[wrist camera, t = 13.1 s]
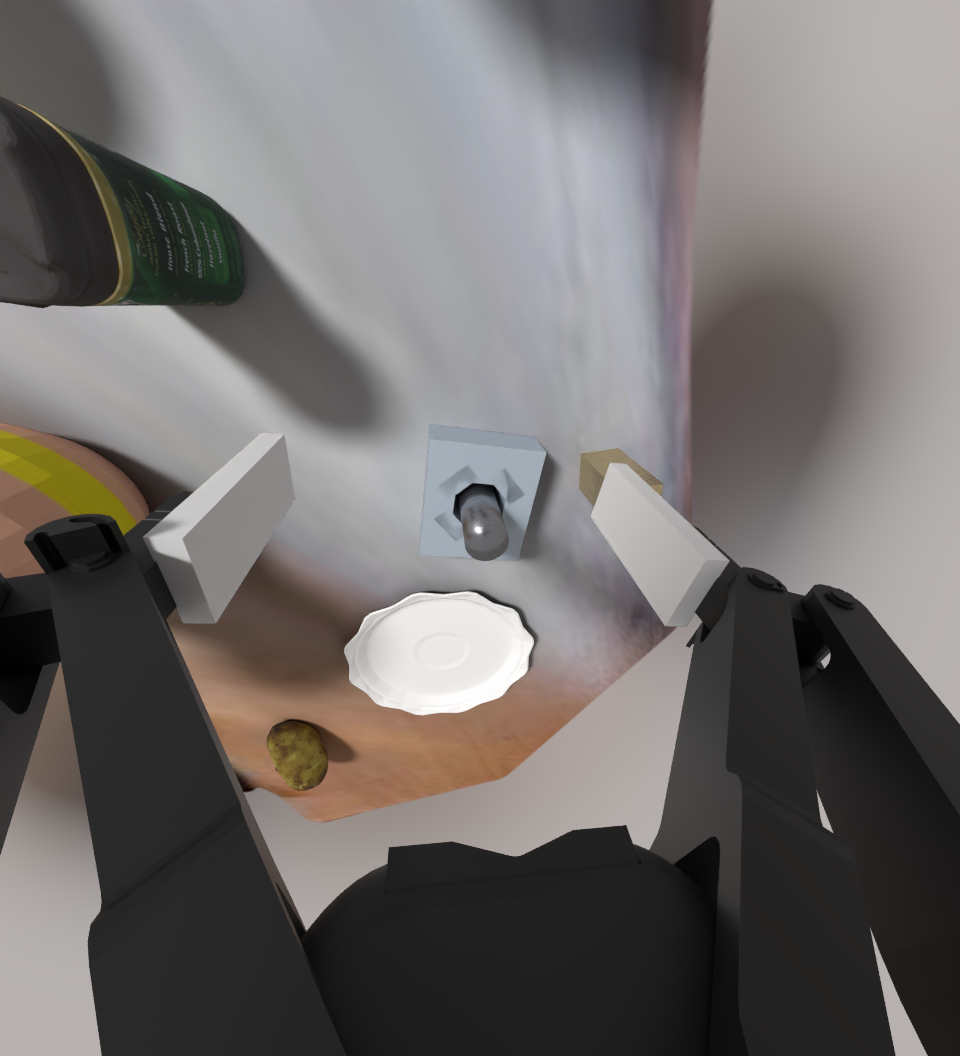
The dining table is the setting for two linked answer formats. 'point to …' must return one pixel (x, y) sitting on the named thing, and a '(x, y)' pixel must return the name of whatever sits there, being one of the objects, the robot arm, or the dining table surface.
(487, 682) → the plate
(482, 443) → the bore block
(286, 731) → the potato
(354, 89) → the dining table surface
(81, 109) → the dining table surface
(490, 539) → the round bit
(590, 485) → the square bit
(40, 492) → the vase
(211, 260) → the coffee jar
